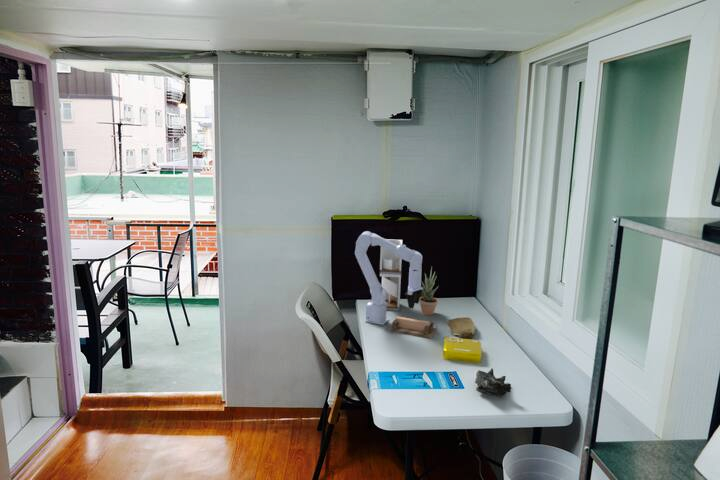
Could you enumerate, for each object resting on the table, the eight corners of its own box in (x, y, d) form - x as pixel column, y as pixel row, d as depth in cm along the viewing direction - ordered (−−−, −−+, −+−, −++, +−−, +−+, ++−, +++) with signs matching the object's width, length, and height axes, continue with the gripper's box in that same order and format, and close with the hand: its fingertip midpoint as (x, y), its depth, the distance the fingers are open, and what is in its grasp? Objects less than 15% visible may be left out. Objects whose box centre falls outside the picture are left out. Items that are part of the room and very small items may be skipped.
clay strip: (395, 326, 231) (395, 317, 230) (397, 324, 233) (397, 316, 232) (428, 332, 225) (428, 323, 224) (430, 330, 227) (430, 322, 226)
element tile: (442, 360, 200) (443, 349, 199) (444, 345, 214) (444, 335, 213) (481, 364, 197) (481, 353, 196) (479, 349, 211) (480, 338, 210)
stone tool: (480, 341, 218) (470, 321, 242) (479, 332, 217) (469, 313, 241) (454, 343, 218) (446, 323, 243) (453, 335, 218) (446, 315, 242)
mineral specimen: (523, 387, 167) (507, 361, 168) (492, 408, 166) (475, 381, 167) (507, 381, 182) (492, 357, 183) (478, 400, 181) (463, 376, 181)
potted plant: (438, 316, 249) (441, 268, 244) (419, 316, 249) (422, 268, 244) (435, 309, 258) (438, 263, 254) (417, 309, 258) (419, 263, 254)
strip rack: (388, 330, 228) (388, 321, 228) (395, 323, 237) (396, 315, 237) (430, 338, 221) (431, 329, 220) (436, 330, 230) (437, 322, 229)
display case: (379, 302, 268) (382, 238, 261) (399, 303, 267) (402, 239, 260) (378, 309, 257) (380, 243, 250) (399, 310, 256) (402, 244, 249)
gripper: (418, 282, 225) (417, 311, 227) (427, 275, 238) (426, 302, 240) (403, 280, 227) (402, 308, 230) (413, 273, 240) (412, 300, 243)
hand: (413, 305), depth 235 cm, fingers open, 7 cm apart
